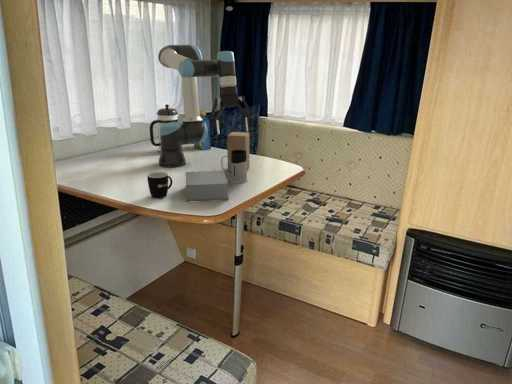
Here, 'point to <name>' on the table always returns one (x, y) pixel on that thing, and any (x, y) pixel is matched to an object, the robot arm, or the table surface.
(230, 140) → the wooden block
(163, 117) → the coffee press
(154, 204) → the table surface
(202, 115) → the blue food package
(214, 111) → the robot arm
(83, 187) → the table surface
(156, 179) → the mug
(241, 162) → the glass holder
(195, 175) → the large grey square box
